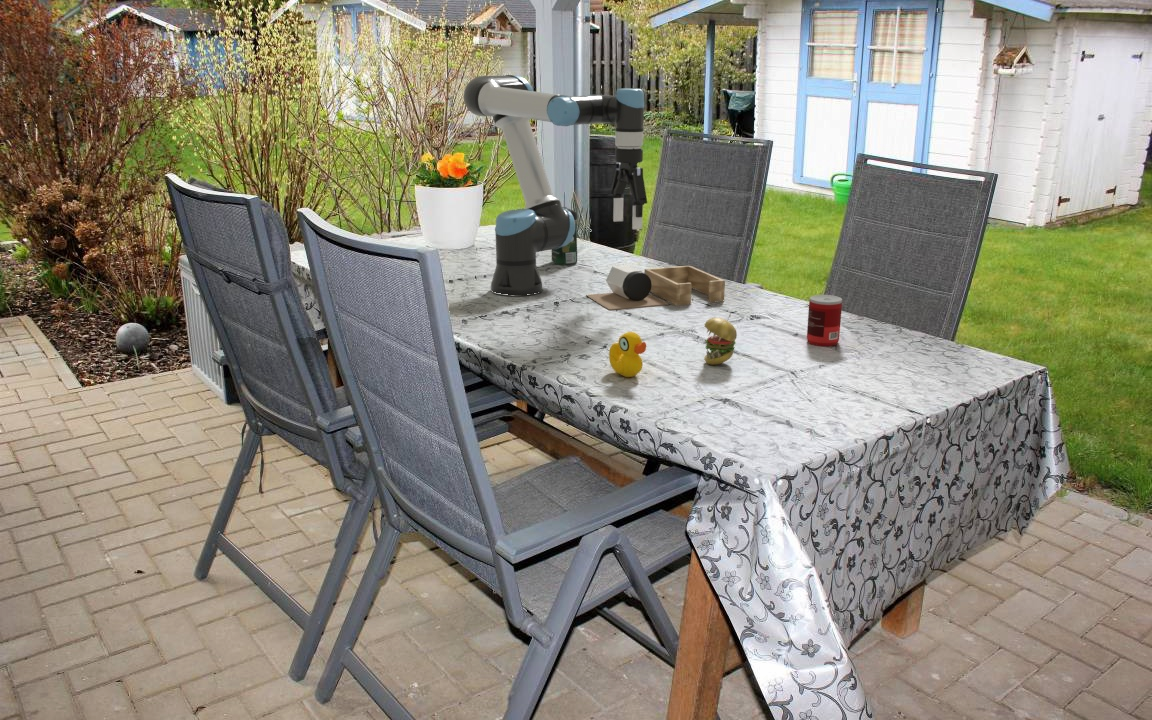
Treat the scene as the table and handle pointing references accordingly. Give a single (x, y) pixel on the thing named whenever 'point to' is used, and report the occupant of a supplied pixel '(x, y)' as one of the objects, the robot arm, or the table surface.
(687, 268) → the crate
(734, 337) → the hamburger
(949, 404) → the table surface
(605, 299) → the mat
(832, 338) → the canned food
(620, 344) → the duckling
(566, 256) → the coffee jar
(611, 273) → the jar
